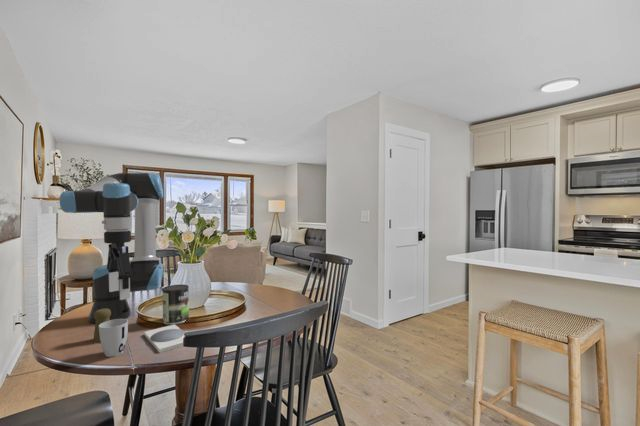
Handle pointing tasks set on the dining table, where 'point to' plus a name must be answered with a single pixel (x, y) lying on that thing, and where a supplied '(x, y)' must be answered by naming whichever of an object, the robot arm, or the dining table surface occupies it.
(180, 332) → the board
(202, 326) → the dining table surface
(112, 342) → the cup
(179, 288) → the coffee can
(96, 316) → the olive peg figure
